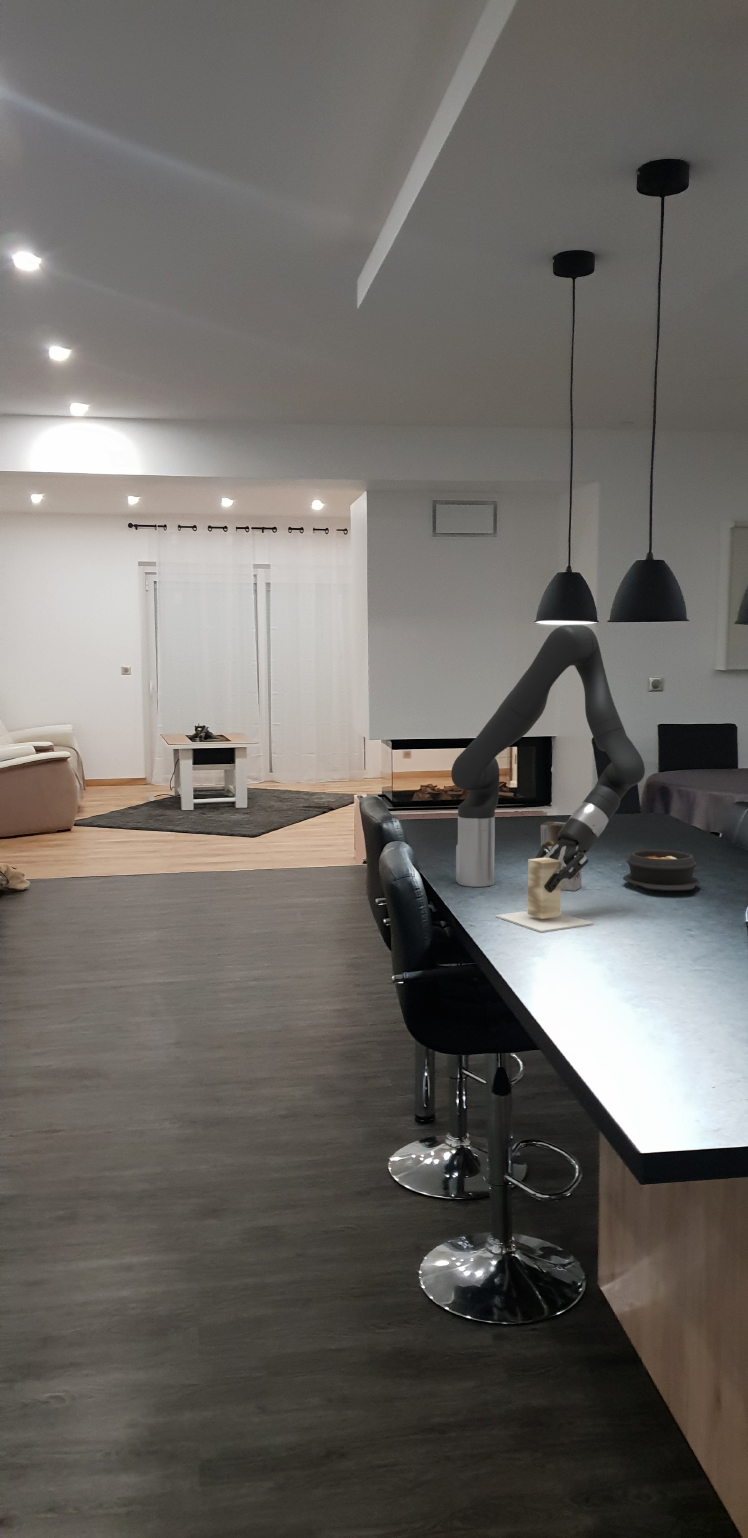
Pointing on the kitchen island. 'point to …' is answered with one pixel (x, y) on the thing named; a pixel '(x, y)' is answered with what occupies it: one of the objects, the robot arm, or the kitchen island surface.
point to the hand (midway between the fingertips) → (539, 887)
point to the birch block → (543, 889)
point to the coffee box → (551, 837)
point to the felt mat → (544, 921)
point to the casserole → (662, 870)
